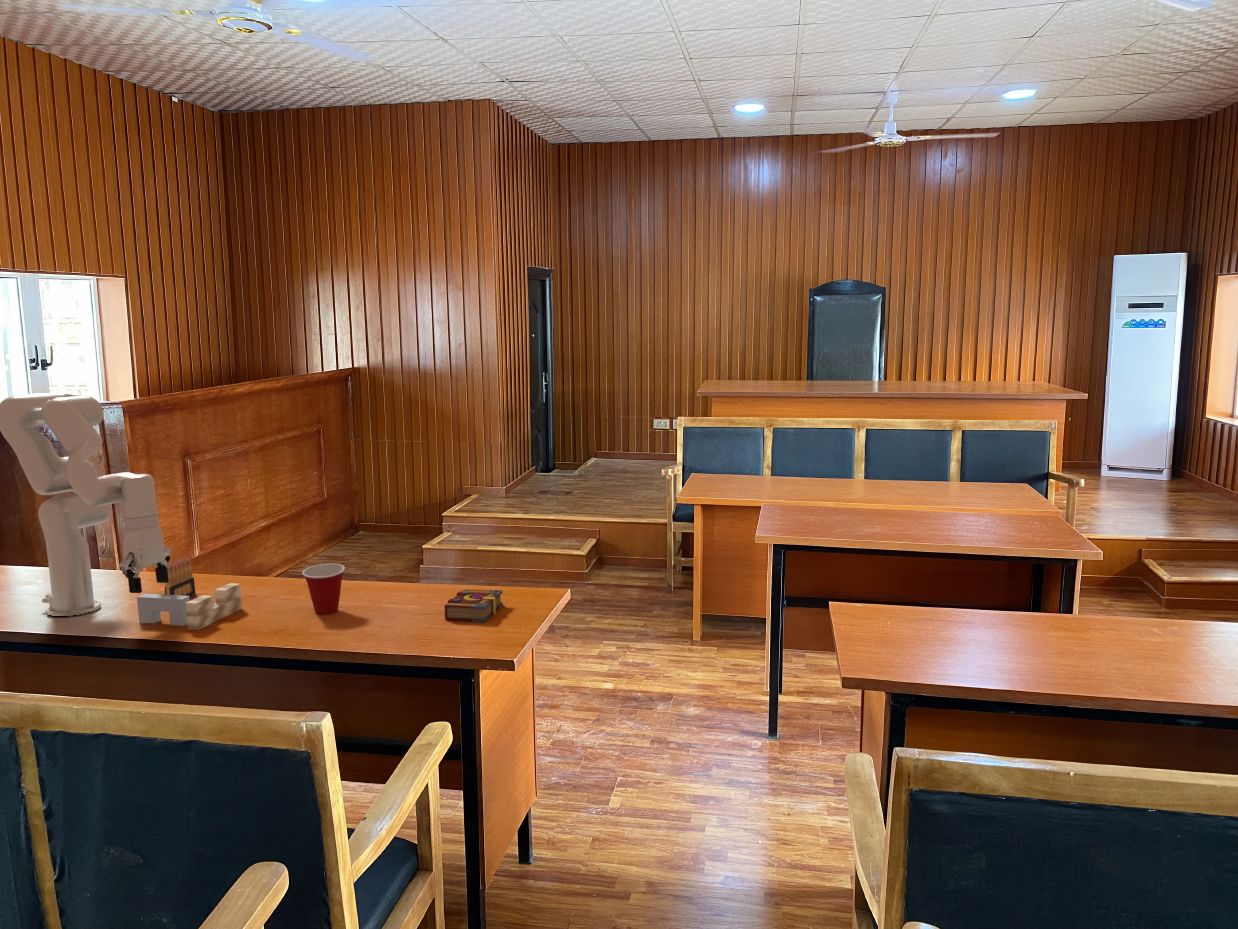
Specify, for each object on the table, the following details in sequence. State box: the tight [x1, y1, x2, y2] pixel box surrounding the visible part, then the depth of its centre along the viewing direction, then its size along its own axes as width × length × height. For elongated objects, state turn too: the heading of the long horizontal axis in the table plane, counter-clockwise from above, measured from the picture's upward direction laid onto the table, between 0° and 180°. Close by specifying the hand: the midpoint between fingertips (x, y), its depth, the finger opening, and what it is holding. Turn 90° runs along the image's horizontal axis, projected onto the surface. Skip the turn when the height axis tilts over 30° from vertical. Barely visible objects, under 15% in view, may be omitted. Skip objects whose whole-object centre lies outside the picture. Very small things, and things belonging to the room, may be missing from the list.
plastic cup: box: [301, 562, 346, 616], centre depth 233 cm, size 11×11×12 cm
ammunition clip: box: [164, 554, 196, 598], centre depth 246 cm, size 11×2×12 cm, turn 171°
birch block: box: [186, 582, 243, 631], centre depth 228 cm, size 18×3×7 cm, turn 169°
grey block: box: [136, 593, 191, 627], centre depth 226 cm, size 13×3×7 cm, turn 79°
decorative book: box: [444, 589, 504, 623], centre depth 232 cm, size 11×16×5 cm
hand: (149, 587), depth 225 cm, fingers open, 9 cm apart
